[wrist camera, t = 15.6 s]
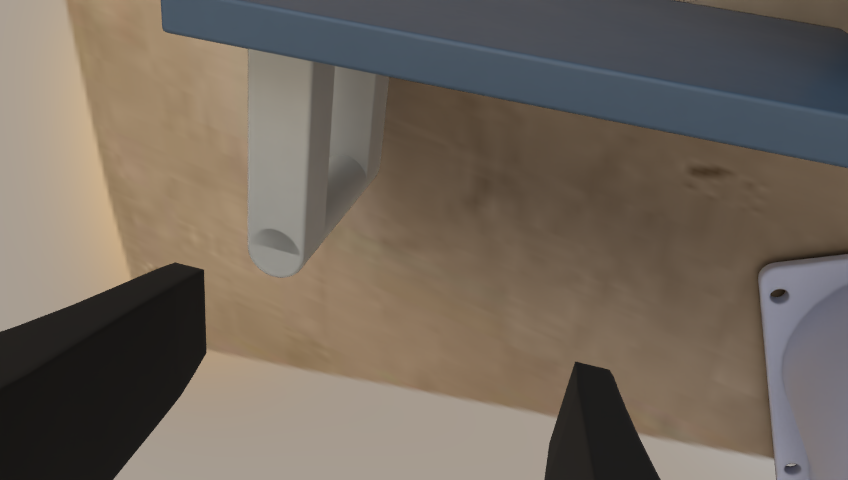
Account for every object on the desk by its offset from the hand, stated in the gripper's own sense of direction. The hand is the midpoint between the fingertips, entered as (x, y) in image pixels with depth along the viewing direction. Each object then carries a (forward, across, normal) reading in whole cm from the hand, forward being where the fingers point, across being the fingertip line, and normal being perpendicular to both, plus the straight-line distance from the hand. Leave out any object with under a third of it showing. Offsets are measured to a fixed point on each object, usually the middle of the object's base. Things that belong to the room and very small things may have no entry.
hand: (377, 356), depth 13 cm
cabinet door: (+10, -2, -3) cm, 11 cm away
